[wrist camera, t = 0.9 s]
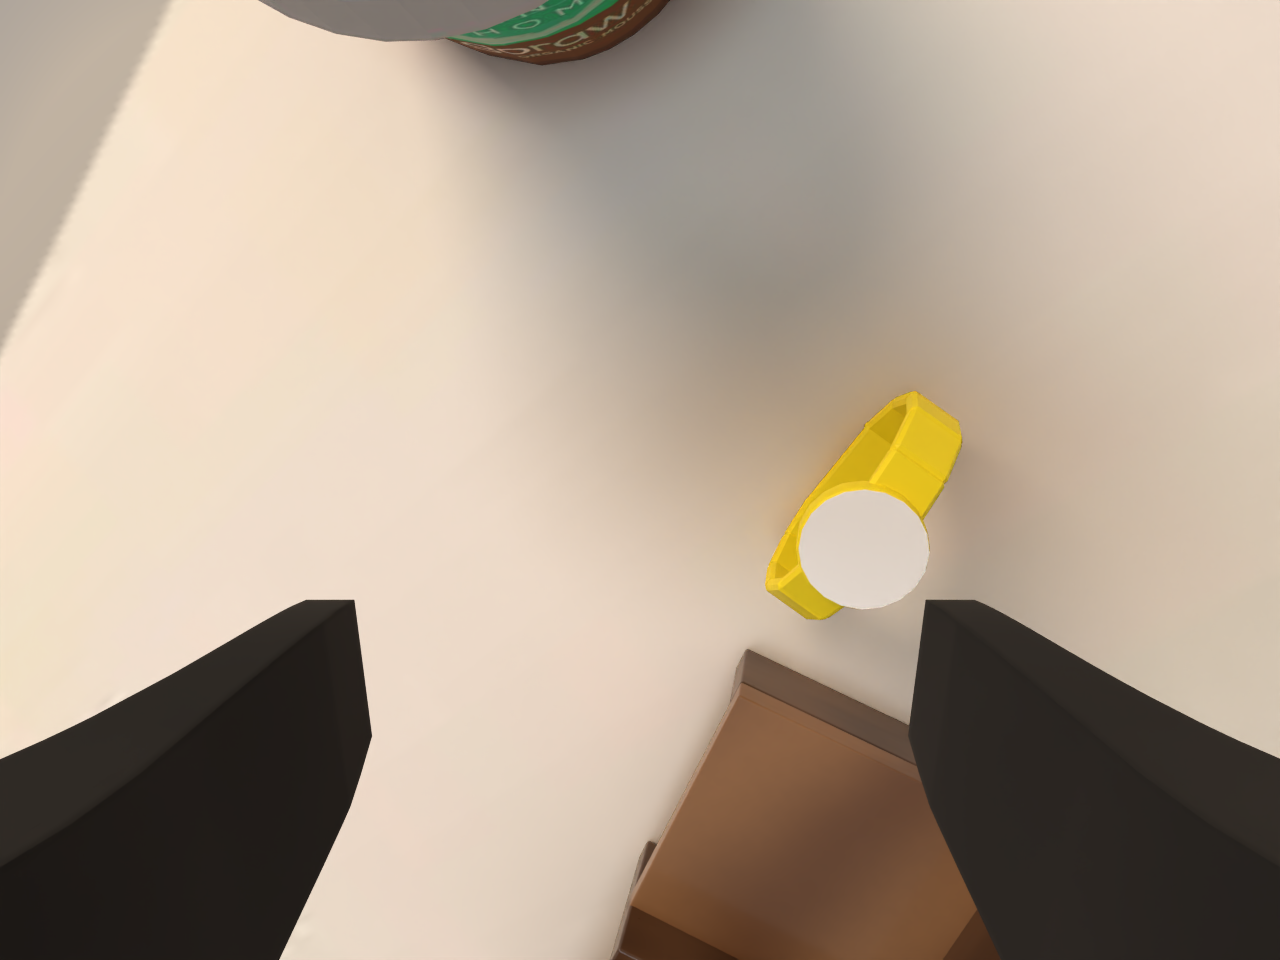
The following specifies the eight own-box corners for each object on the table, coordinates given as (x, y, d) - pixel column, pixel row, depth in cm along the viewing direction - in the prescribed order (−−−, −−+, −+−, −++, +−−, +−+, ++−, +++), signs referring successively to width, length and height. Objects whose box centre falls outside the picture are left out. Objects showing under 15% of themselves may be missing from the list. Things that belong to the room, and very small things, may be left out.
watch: (881, 361, 23) (905, 392, 17) (966, 421, 23) (1017, 472, 17) (749, 531, 25) (732, 610, 19) (827, 587, 25) (833, 683, 19)
